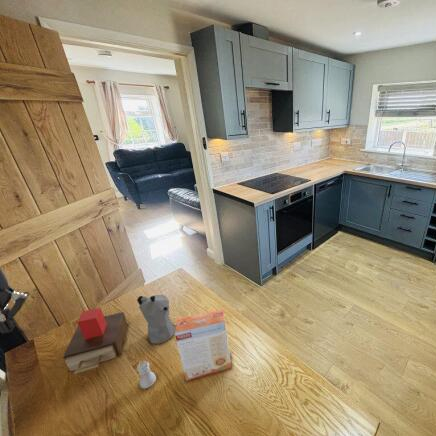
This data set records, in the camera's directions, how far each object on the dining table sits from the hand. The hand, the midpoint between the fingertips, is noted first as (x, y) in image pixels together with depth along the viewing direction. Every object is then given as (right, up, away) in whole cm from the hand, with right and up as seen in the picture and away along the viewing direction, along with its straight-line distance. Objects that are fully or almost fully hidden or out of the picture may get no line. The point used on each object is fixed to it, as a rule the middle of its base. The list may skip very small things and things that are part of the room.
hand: (8, 330), depth 59 cm
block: (+2, -12, +24) cm, 27 cm away
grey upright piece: (+20, -16, +32) cm, 41 cm away
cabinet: (+2, -18, +27) cm, 32 cm away
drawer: (+3, -19, +23) cm, 30 cm away
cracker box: (+43, -22, +20) cm, 52 cm away
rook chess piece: (+26, -24, +15) cm, 38 cm away
